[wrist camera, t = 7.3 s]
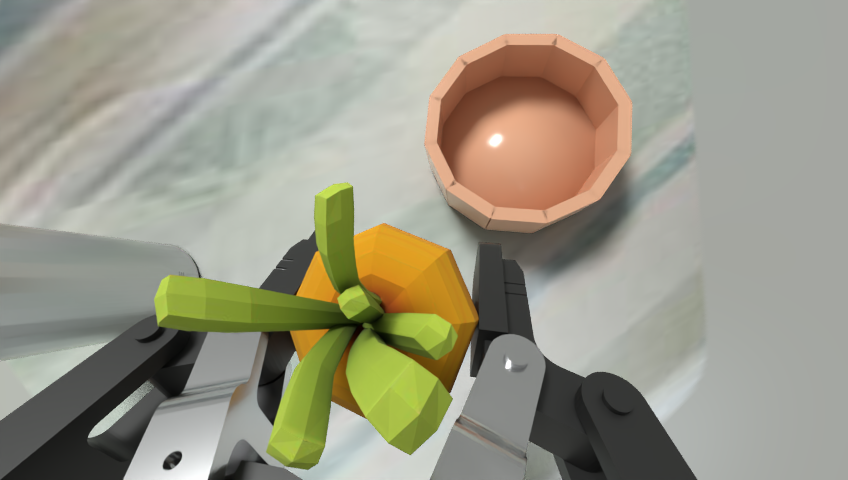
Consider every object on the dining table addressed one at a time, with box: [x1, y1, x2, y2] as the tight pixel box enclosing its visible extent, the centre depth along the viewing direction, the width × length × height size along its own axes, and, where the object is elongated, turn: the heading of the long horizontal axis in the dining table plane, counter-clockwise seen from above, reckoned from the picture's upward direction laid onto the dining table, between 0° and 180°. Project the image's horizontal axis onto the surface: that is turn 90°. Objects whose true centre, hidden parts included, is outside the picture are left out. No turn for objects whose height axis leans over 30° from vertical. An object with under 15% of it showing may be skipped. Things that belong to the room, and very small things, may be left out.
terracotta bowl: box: [424, 34, 632, 233], centre depth 27 cm, size 16×16×5 cm
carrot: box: [154, 183, 479, 470], centre depth 10 cm, size 5×5×15 cm
